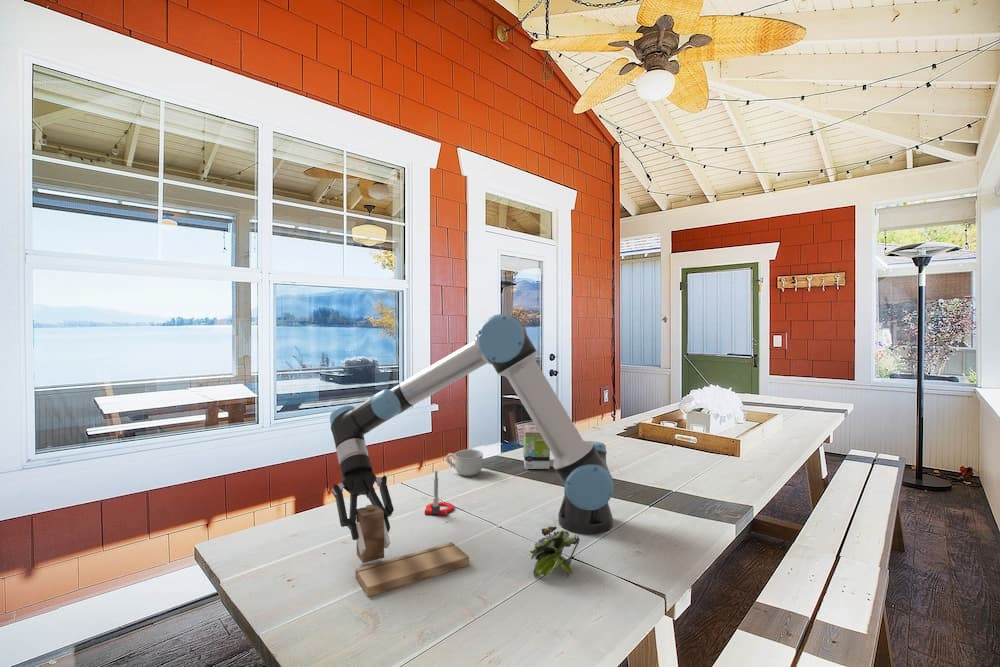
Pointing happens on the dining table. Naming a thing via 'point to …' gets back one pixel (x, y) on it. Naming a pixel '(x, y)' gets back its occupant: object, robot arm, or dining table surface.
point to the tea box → (535, 449)
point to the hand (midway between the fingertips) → (375, 548)
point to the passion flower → (552, 551)
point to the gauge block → (371, 532)
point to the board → (410, 568)
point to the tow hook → (437, 502)
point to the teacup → (467, 462)
